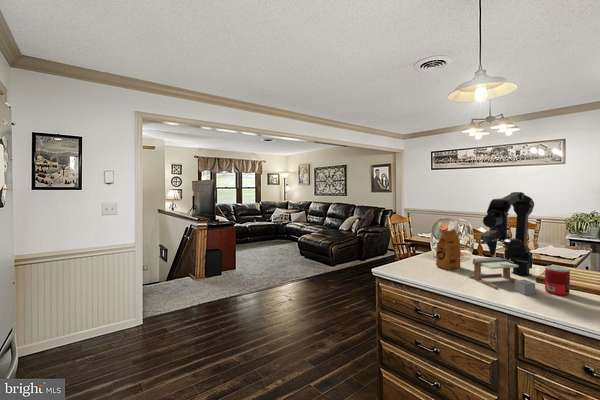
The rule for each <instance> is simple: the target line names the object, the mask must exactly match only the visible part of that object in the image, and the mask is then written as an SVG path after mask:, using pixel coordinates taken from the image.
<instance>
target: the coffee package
mask: <svg viewBox="0 0 600 400" xmlns="http://www.w3.org/2000/svg"><path fill="white" fill-rule="evenodd" d="M440 233H441V236H440V239H439V240H438V241H437V243H436V247H435V253H436V254H435V255H436V256H435V257H436V258H435V266H436V267H437V266H438V267H437V268H440V267H441V268H440V269H443V270H446V269H448V270H447V271H449V270H451V269H454V270H456V269H458V268H461V242H460V237H459V236H458V233H457V232H456V229H455V228H452V229H451V230H446V229H445V230H440Z"/></svg>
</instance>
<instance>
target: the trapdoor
mask: <svg viewBox="0 0 600 400" xmlns="http://www.w3.org/2000/svg"><path fill="white" fill-rule="evenodd" d="M505 259H506V258H503V257H497V256H496V257H495V256H494V257H480V258H479V257H477V258H472V265H474V261H479V262H481V267H484V268H488V269H491V270H497V269H503V268H510V269H511V268H512V269H513V268H514V267H519V265H515V264H514V263H513V262H510V263H509V262H506V261H505Z"/></svg>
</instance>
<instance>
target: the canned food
mask: <svg viewBox="0 0 600 400" xmlns="http://www.w3.org/2000/svg"><path fill="white" fill-rule="evenodd" d="M570 278H571V270H570V268H568V267H564V266H557V265H545V267H544V289H545V292H546V293H547V294H550V295H554V296H559V297H567V296H569V295H570V290H571V289H570V288H571V285H570V284H571V283H570V282H571V281H570V280H571V279H570Z"/></svg>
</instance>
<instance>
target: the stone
mask: <svg viewBox="0 0 600 400" xmlns="http://www.w3.org/2000/svg"><path fill="white" fill-rule="evenodd" d="M514 292H515V293H517V294H520V295H522V296H534V295H536V283H535V282H532V281H530V280H526V279H517V280H515V282H514Z"/></svg>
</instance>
